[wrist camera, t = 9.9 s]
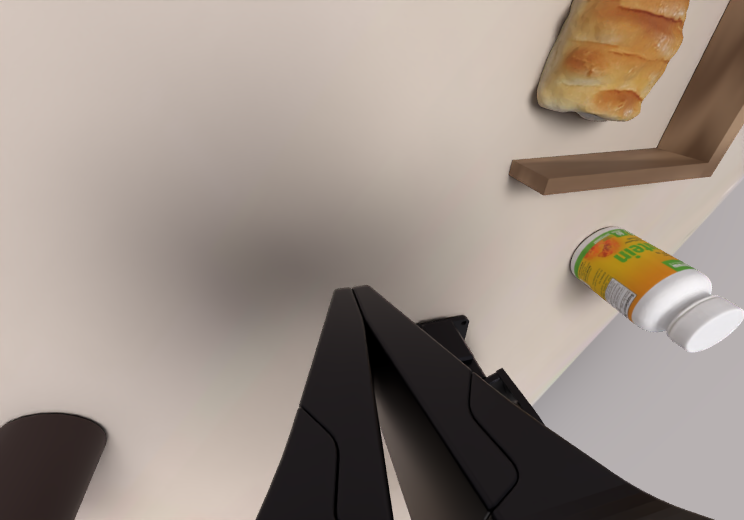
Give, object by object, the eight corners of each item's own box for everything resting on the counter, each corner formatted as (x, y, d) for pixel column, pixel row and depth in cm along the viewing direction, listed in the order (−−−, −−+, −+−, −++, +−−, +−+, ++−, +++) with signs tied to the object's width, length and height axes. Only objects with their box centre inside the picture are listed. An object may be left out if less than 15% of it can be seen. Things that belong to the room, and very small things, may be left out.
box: (660, 160, 24) (710, 176, 21) (508, 174, 22) (543, 195, 19) (802, -115, 16) (912, -146, 13) (589, -144, 14) (669, -190, 11)
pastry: (603, -116, 15) (690, -157, 11) (701, -73, 16) (798, -98, 13) (520, 108, 20) (566, 121, 16) (603, 121, 21) (657, 135, 18)
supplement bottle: (631, 216, 27) (774, 288, 19) (616, 265, 30) (733, 343, 23) (573, 236, 27) (695, 318, 19) (564, 283, 30) (665, 369, 22)
